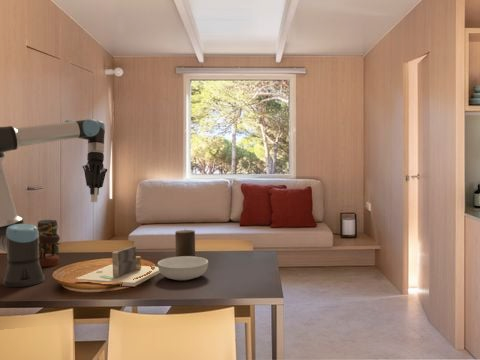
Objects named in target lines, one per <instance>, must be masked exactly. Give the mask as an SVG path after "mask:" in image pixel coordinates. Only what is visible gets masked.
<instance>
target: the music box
mask: <svg viewBox="0 0 480 360" xmlns="http://www.w3.org/2000/svg"><path fill="white" fill-rule="evenodd" d="M51 227H52V224H50V223H49V224H47V225H44V226H42V227H40V228H39V229H38V228H37V229H38V233H39V232H40V231H42V235H40V236H39V235H38V245H39V246H43V248H42V249H41V252H40V251H39V263H40V266H41V268H42V267H43V268H44V267H45V268H47V267H55V266H58V265H59V264H60V256H59V255H58V254H54V249H56V248H57V249H58V248H59V245H60V239H61V237H60V235H59V233H57V234H52V232H50V233H49V232H47V234H43V231H47V230H48V229H50V230H51ZM39 242H40V243H41V244H39ZM57 242H58V243H57ZM55 243H57V244H58V246H57V244H55ZM46 244H47V249H46ZM49 244H50V245H49ZM51 245H52V248H51ZM54 246H55V247H54ZM51 249H52V254H46V253H47V252H46V250H47V251H48V252H51Z"/></svg>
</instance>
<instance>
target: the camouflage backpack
mask: <svg viewBox="0 0 480 360" xmlns="http://www.w3.org/2000/svg"><path fill="white" fill-rule="evenodd" d="M49 223H50V224H52V227H51V230H50V229H48V230H47V231H43V234H47V232H49V233H50V232H52V234H58V233H57V231H58V221H57V220H56V219H43V220H38V222H37V229H39V228H40V227H42V226H44V225H47V224H49ZM38 234H39V235H38V237H39V236H40V235H42V231H40V232H39V231H38ZM38 243H39V244H41V243H40V242H39V241H38ZM57 243H59V241H58V242H57ZM57 243H55V244H57ZM49 245H50V244H49ZM57 246H58V249H57V248H56V249H54V254H55V255H58V254H59V244H57ZM54 247H55V246H54ZM42 248H43V246H39V251H40V252H41V249H42ZM51 248H52V245H51ZM46 249H47V244H46ZM46 252H47V253H46V254H52V249H51V252H48V251H47V250H46Z"/></svg>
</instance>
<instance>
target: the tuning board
mask: <svg viewBox="0 0 480 360" xmlns="http://www.w3.org/2000/svg"><path fill="white" fill-rule="evenodd" d="M154 267H155V269H154V270H152V269H151V267H150V266H149V265H141V269H138V270H134V271H131V272H129V273H127V274H124V275H122V276H119V277H118V278H116V277H113V263H111V264H109V265H106V266H104V267H101V268H99V269H96V270H93V271H90V272H89V273H86V274H84V275H81V276H79V277H76V278H75V280H76V279H80V280H87V281H95V282H123V284H122V287H136V286H138V285H140V284H142V283H144V282H146V281H148V280H149V279H152V278H153V277H156V276H157V275H158V274H161V273H160V271H159V269H158V266H154ZM149 271H152V272H151V273H150V274H148V275H146V276H143V277H141V278H138V279H134V278H136V277H139V276H142V275H144V274H146V273H147V272H149ZM133 279H134V280H133Z"/></svg>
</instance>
